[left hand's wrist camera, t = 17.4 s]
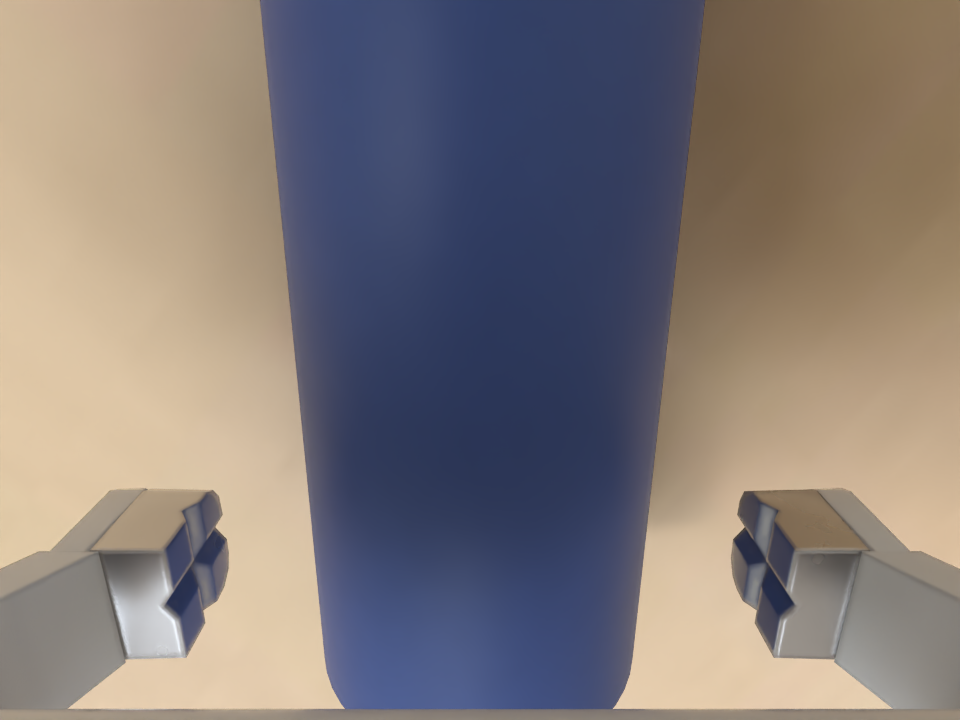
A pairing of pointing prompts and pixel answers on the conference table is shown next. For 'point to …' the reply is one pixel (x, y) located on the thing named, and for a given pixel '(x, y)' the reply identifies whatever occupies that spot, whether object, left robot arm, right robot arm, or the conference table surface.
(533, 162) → the rod
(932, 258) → the conference table surface
